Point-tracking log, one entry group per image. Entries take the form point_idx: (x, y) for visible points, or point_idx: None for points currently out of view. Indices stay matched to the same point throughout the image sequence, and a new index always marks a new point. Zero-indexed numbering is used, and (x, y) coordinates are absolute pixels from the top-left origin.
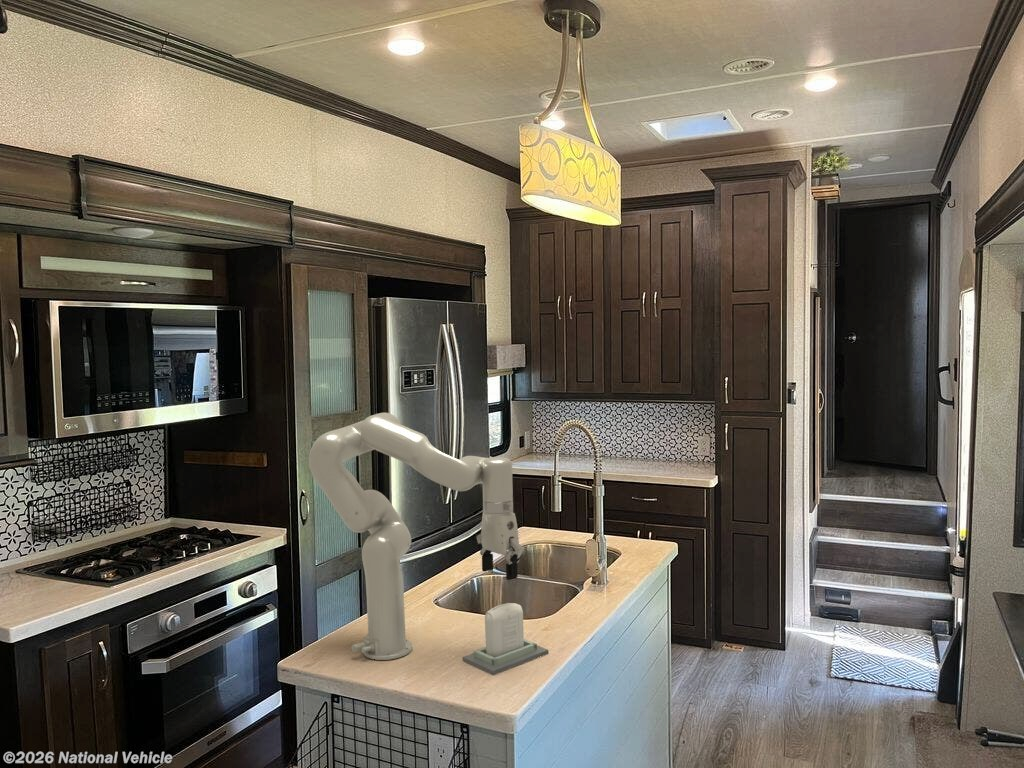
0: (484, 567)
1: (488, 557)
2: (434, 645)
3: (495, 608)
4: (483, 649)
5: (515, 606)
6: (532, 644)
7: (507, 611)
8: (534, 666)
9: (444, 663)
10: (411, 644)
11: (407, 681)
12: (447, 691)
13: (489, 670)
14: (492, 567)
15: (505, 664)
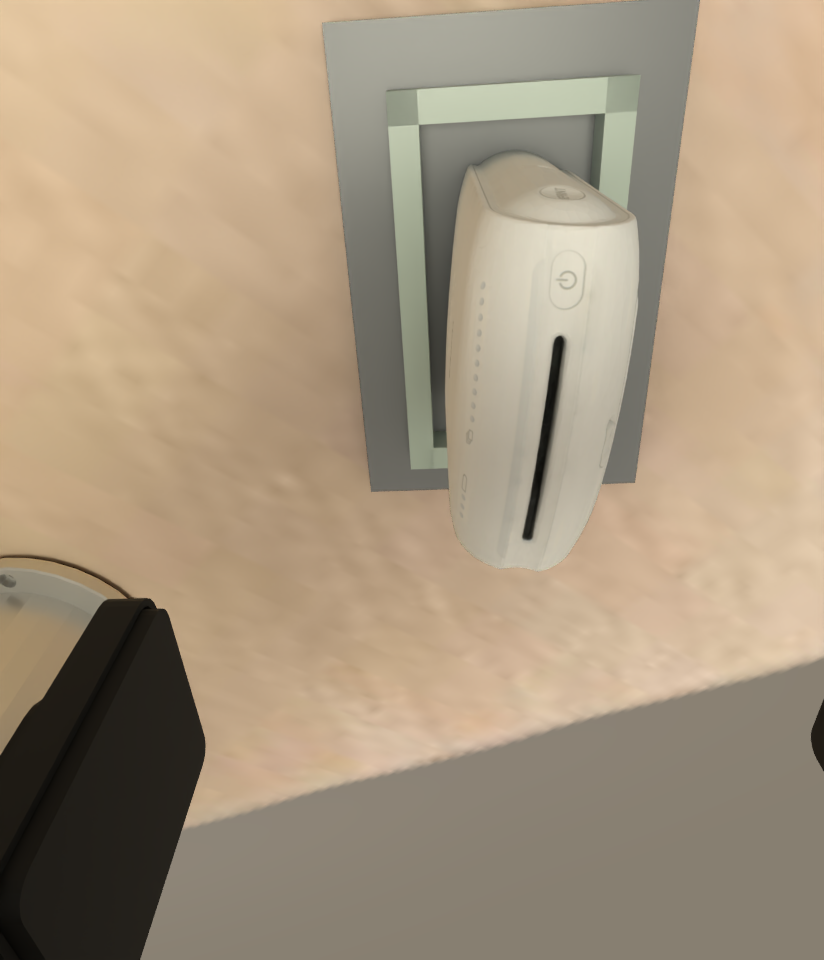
0: (185, 804)
1: (87, 940)
2: (92, 474)
3: (526, 516)
4: (431, 418)
5: (617, 322)
6: (619, 112)
7: (613, 429)
8: (743, 237)
9: (340, 550)
10: (72, 583)
11: (400, 712)
12: (591, 666)
13: (602, 480)
14: (152, 637)
15: (626, 390)
